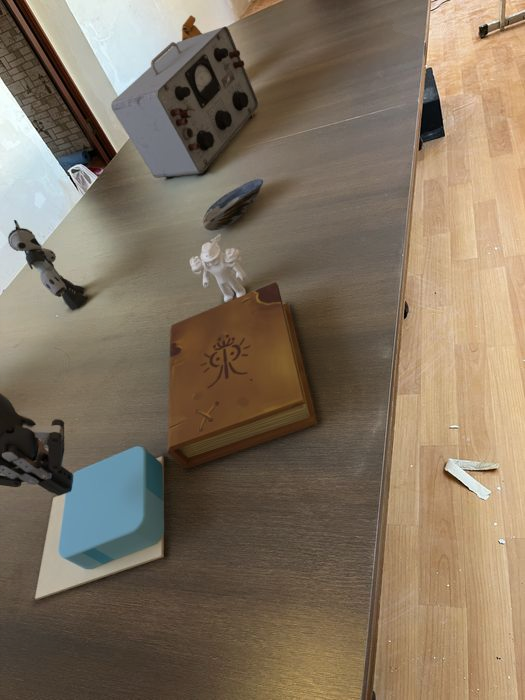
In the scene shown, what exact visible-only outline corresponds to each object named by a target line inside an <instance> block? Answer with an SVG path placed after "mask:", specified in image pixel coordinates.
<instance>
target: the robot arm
mask: <svg viewBox="0 0 525 700" xmlns="http://www.w3.org/2000/svg"><path fill="white" fill-rule="evenodd" d="M64 454H65V422H64V420H63V419H59V418H55V419H53V420H52V421H51V424H50V425H47V424H46V425H45V424H36V422H35V421H34V419H31V418H29V417H26V416H24V415H21V414H19V413H18V412H17V411H16V409H15V407H14V405H13V404H12V402H11V401H10V399H9V398H7V397H6V396H4V394H2V393H1V392H0V486H3V487H11V488H19V487H21V486H22V483H26V484H29V485H31V486H32V485H37V486H39V487H41V488H43V489H44V490H46V491H48V492H49V493H52V494H55V495H56V496H60V495H63V494H66V493H68V492H71V490H72V484H73V474H74V473H72V472H71V471H70V470H68V469H67V468H65V467H64V466H62V465H63V460H64Z"/></svg>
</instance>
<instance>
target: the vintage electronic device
mask: <svg viewBox="0 0 525 700" xmlns="http://www.w3.org/2000/svg"><path fill="white" fill-rule="evenodd" d="M244 66H245V61H244V60H242V58H241V52H240V50H239V49H237V47H236V44H235V42H234V39H233V36H232V34H231V31H230V29H229V28H228V27H227V26H222V27H219V28H215V29H213V30H209V31H207V32H203V33H202V34H201V35H198V36H195V37H192V38H189V39H186V40H183V41H182V40H180V41H177V42H174V41H172V42H170V43H169V44H168V45H167V46H166V47H164V48H163V49H162V50H161V51H160V52H159V53H158V54H157V55H156V56H155V57H154V58H152V59H151V61H150V66H149V68H147V70H145V71H144V72H143V73H142V74H141V75H140V76H139V77H137V78H136V80H134V81H133V82H132V83H131V84H130V85H129V86H128V87H127V88H126V89H125V90H124V91H122V92H121V93H119V95H118V96H117V97H116V98H115V99H114V100H113V101H112V102H111V109H112V112H113V113H114V115H115V117H116V118H117V120H118V121H119V123H120V125H121V126H122V128H123V129H124V132H125V133H126V134H127V136H128V138H129V139H130V141H131V143H132V144H133V145H134V147H135V149H136V151H137V152H138V154H139V155H140V157H141V158H142V160H143V161H144V163H145V165H146V166H147V169H148V170H149V172H150V173H151V175H152V176H153V177H154V178H156V179H160V178H161V179H162V178H166V179H167V180H170V179H172V178H173V177H179V176H189V175H198V176H201V177H202V176H204V175H205V174H206V173H207V169H208V167H209V166H211V164H212V163H213V162H214V161H215V159H216V158H217V157H218V156H219V154H220V153H221V152H222V151H223V150H224V148H225V147H226V146H227V145H228V144H229V143H230V141H231V140H232V139H233V138H234V136H235V135H236V134H237V133H238V132H239V130H241V128H242V127H243V126H244V124H246V122H247V121H249V120H251V119H252V118H253V116H254V115H253V114H254V113H255V112H256V110H257V109H258V107H259V101H258V98H257V96H256V93H255V91H254V87H253V86H252V83H251V81H250V78H249V75H248V74H247V71H246V68H245V67H244Z"/></svg>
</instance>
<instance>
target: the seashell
mask: <svg viewBox="0 0 525 700" xmlns="http://www.w3.org/2000/svg"><path fill="white" fill-rule="evenodd" d="M263 183H264V180H263V179H262V178H255V179H253V180H250V181H248V182H245V183H243V184H241V185H240V186H238V187H236V188H234V189H232V190H231V191H229V192H227V193H225V194H224V195H222V196H221V197H220V198H219V199H217V200H216V201H215V202H214V203H213V204H211V205H210V206H209V207H208V209H207V210H206V212H205V214H204V216H203V218H202V227H203V228H204V229H205V230H207V231H211V232H213V231H220V230H222V229H226V228H228V227H229V226H231V225H232V224H234V223H235V222H236V221H237V220H239V219H240V218H241V217H242V216H244V215H245V213H246V212H247V210H248V209H249V208H250V207H251V205H252V204H253V202H254V200H255V199H256V197H257V196H258V195H259V193H260V191H261V188H262V186H263Z"/></svg>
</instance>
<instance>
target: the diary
mask: <svg viewBox="0 0 525 700" xmlns="http://www.w3.org/2000/svg"><path fill="white" fill-rule="evenodd" d="M282 300H283V299H282V295H281V292H280V287H279V284H278V282H277V281H274V282H272V283H270V284H267V285H265V286H262V287H260V288H258V289H255V290H252V291H250V292H248V293H246V294H245V295H243V296H240V297H238V298H237V297H236V298H233V299H232V300H231V301H228V302H223V303H221V304H219V305H217V306H214V307H211V308H209V309H206V310H204V311H202V312H200V313H197V314H194V315H192V316H190V317H187V318H184V319H182V320H180V321H178V322H175V323H173V324H171V327H170V329H169V364H168V365H169V366H168V367H169V369H168V375H169V376H168V408H167V409H168V411H167V414H168V415H167V418H168V419H167V454H168V455H170V457H172V459H174V460H175V461H176V462H177V463H178V464H179V465H180V466H181V467H184V468H194V467H197V466H200V465H203V464H205V463H209V462H211V461H214V460H217V459H220V458H223V457H226V456H229V455H233V454H234V453H237V452H240V451H243V450H246V449H249V448H252V447H255V446H258V445H261V444H263V443H266V442H269V441H272V440H275V439H278V438H281V437H284V436H287V435H290V434H292V433H295V432H299V431H301V430H304V429H307V428H310V427H314V426H316V425H318V424H319V423H318V419H317V415H316V411H315V407H314V403H313V399H312V394H311V391H310V386H309V382H308V379H307V374H306V371H305V366H304V362H303V358H302V353H301V350H300V346H299V342H298V338H297V334H296V329H295V324H294V321H293V316H292V313H291V312H292V311H291V309H290V305H289V304H288V302H286V303H283V301H282Z"/></svg>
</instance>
